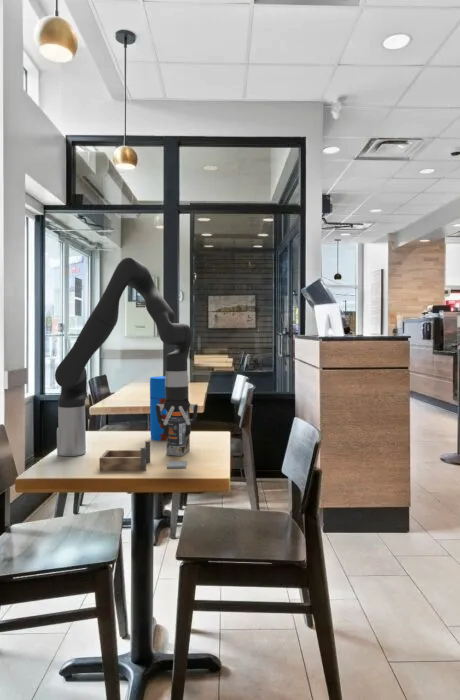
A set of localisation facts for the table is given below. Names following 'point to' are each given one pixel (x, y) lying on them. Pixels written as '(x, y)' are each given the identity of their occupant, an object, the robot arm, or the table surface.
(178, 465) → the mat
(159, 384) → the thermos
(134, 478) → the table surface
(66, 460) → the table surface
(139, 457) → the wooden u-shaped frame
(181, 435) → the pill bottle
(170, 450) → the coffee box
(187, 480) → the table surface
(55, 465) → the table surface
